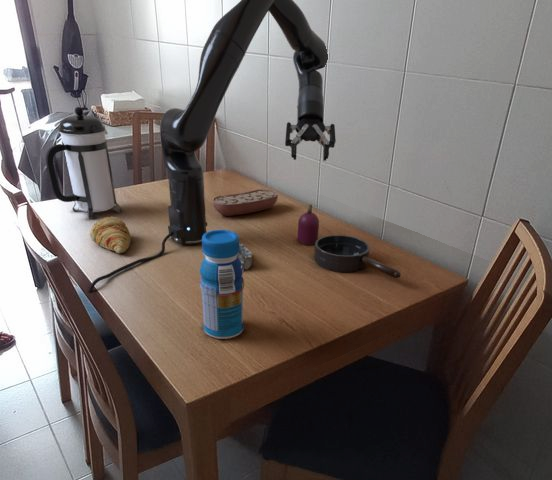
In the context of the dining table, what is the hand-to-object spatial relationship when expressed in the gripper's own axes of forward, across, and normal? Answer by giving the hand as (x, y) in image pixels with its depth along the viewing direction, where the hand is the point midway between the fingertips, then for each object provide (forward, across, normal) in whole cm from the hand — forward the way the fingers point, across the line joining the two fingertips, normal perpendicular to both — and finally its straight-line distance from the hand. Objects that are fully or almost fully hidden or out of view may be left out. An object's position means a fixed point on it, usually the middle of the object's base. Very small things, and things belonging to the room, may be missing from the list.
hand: (310, 158), depth 136 cm
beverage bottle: (+56, -20, -28) cm, 66 cm away
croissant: (+26, -55, +2) cm, 61 cm away
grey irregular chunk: (+33, -20, -5) cm, 39 cm away
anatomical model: (+6, -19, +23) cm, 30 cm away
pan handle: (+37, +16, -12) cm, 42 cm away
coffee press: (+9, -67, +19) cm, 70 cm away
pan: (+32, +8, -3) cm, 33 cm away
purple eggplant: (+22, 0, +6) cm, 23 cm away
